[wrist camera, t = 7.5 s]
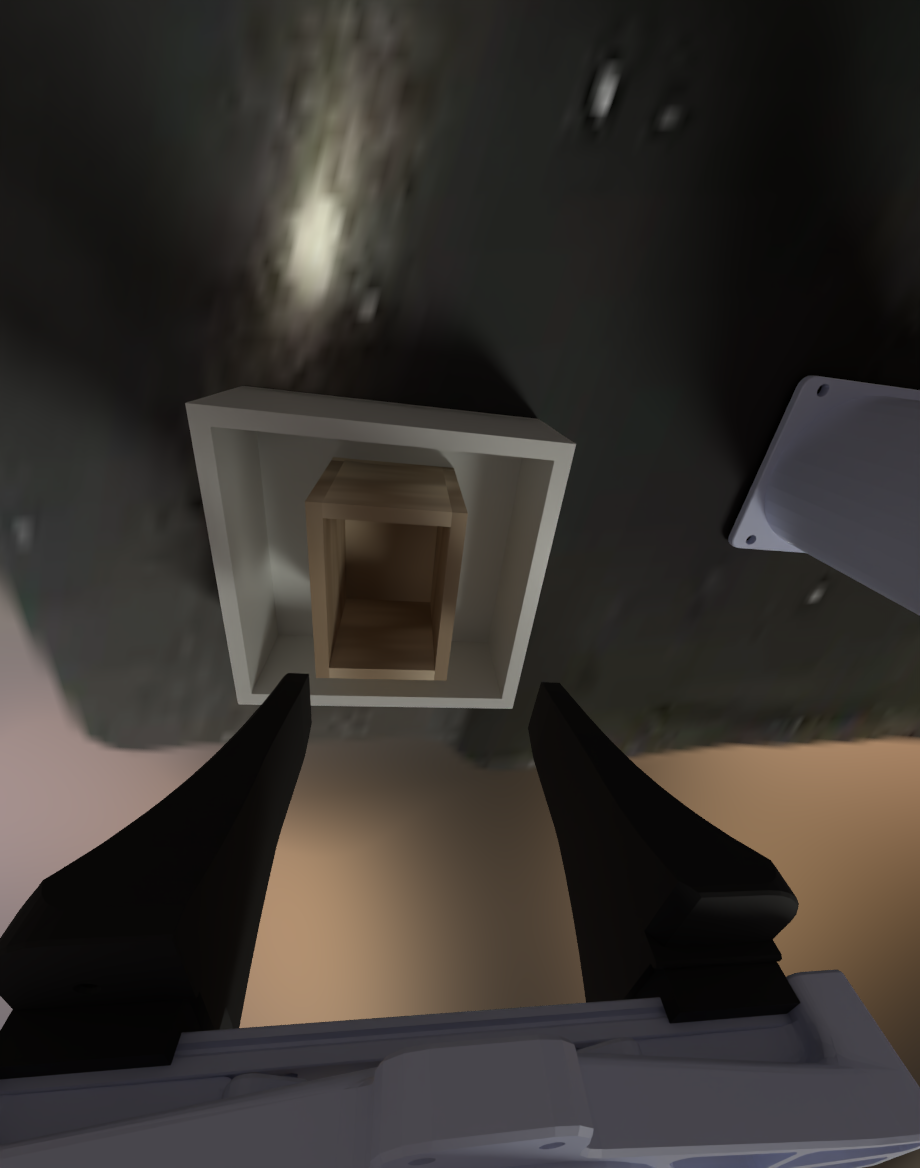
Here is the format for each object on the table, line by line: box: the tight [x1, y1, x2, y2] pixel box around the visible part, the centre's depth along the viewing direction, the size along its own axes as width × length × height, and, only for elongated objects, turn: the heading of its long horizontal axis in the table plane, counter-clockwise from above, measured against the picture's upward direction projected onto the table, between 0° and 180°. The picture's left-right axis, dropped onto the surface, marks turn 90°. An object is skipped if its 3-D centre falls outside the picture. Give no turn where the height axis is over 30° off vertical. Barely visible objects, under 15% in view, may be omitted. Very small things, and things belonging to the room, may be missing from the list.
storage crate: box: [185, 386, 576, 709], centre depth 19 cm, size 12×12×5 cm
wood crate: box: [305, 457, 468, 681], centre depth 18 cm, size 5×7×6 cm
